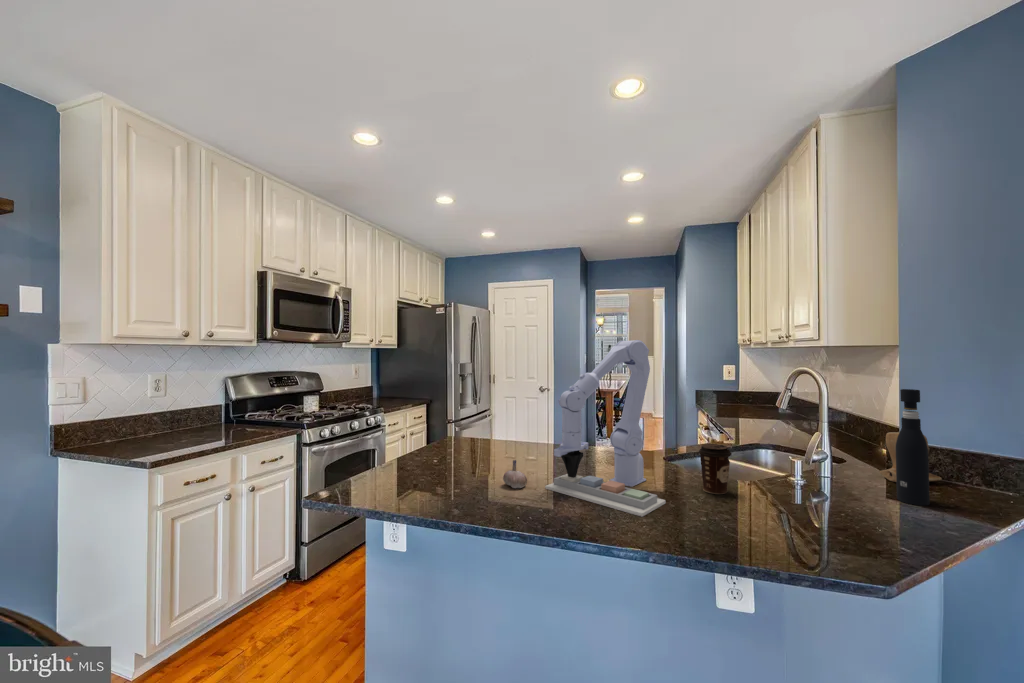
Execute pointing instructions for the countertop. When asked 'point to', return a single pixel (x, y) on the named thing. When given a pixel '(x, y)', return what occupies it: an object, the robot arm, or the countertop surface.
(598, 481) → the slate key
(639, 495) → the sage key
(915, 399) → the black water bottle
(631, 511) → the keypad
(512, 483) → the garlic bulb
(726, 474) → the coffee cup
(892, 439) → the wooden stand
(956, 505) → the countertop surface
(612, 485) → the terracotta key
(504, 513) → the countertop surface
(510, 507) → the countertop surface
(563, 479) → the cream key
